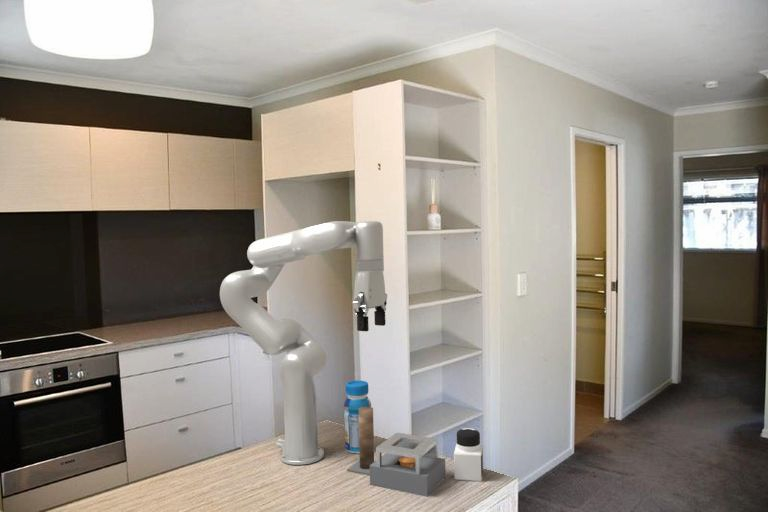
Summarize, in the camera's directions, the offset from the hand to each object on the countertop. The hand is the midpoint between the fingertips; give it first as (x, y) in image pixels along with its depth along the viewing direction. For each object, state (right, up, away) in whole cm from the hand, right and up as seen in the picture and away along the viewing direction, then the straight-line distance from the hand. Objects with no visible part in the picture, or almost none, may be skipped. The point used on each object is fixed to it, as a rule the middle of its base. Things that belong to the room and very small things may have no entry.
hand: (371, 328), depth 162 cm
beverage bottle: (-4, -38, +13) cm, 41 cm away
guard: (+10, -34, -10) cm, 36 cm away
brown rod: (-1, -38, 0) cm, 38 cm away
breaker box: (+10, -39, -10) cm, 41 cm away
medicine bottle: (+26, -38, -7) cm, 47 cm away
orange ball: (+10, -38, -10) cm, 41 cm away
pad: (-1, -38, 0) cm, 38 cm away
